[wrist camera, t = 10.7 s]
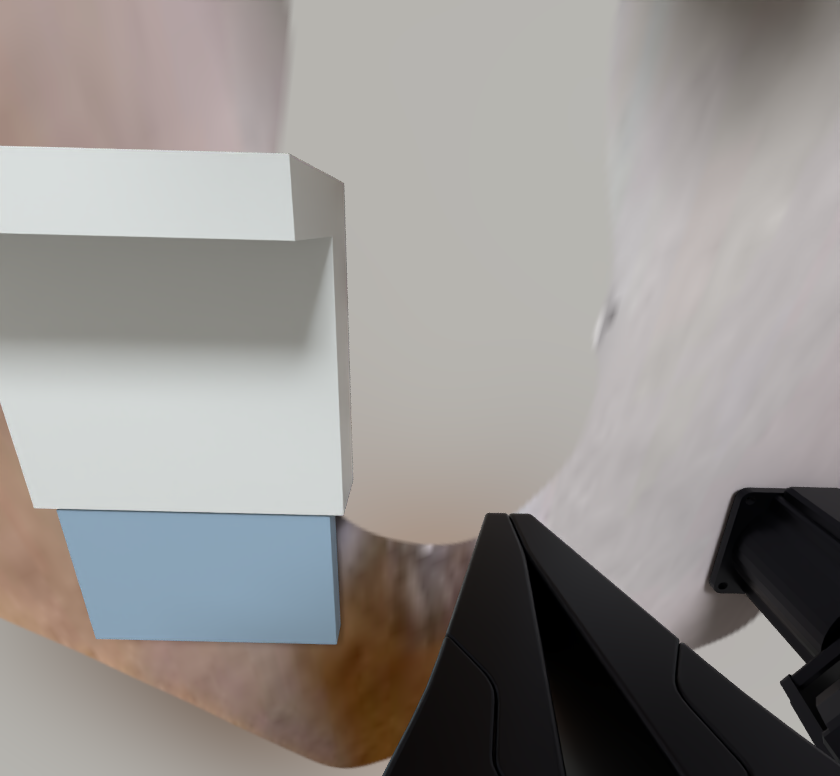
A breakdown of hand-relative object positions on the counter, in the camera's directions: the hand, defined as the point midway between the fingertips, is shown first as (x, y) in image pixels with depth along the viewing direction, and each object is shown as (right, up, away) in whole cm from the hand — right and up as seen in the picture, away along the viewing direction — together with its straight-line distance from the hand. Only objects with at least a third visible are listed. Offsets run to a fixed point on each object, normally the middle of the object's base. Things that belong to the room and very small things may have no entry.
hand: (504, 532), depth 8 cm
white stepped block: (-12, +5, +12) cm, 18 cm away
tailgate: (-12, -3, +13) cm, 18 cm away
